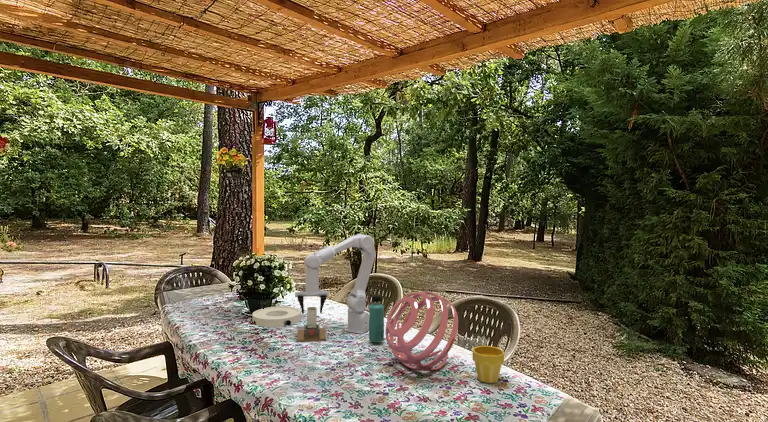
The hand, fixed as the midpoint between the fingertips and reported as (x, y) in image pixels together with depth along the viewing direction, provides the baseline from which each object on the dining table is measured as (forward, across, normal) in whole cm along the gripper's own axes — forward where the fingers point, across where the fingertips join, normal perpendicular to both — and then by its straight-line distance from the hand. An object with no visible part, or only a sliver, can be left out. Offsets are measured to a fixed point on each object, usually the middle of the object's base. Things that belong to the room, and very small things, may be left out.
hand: (311, 312), depth 182 cm
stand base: (+10, 0, 0) cm, 10 cm away
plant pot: (+10, -59, +52) cm, 79 cm away
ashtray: (+11, +17, -26) cm, 33 cm away
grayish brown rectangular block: (+6, 0, 0) cm, 6 cm away
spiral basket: (+10, -38, +38) cm, 55 cm away
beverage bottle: (+10, -27, +13) cm, 31 cm away
